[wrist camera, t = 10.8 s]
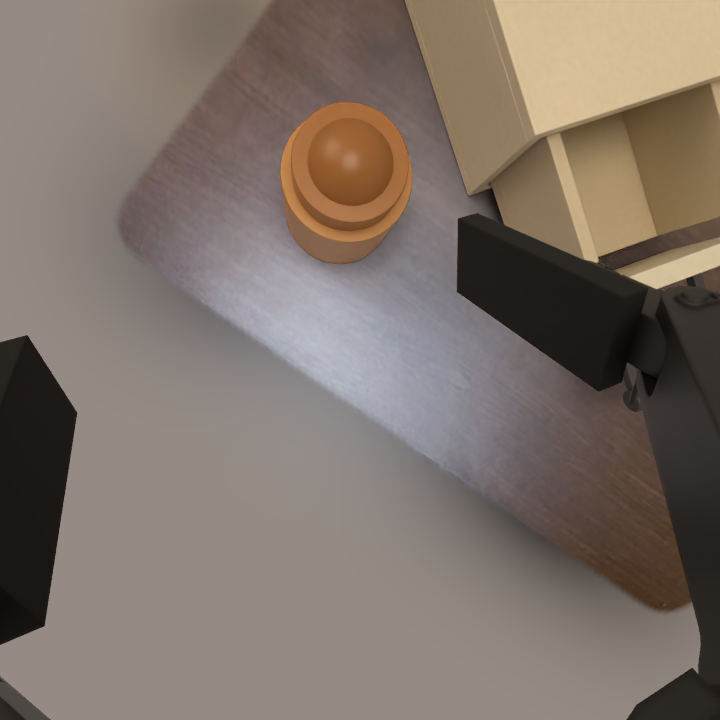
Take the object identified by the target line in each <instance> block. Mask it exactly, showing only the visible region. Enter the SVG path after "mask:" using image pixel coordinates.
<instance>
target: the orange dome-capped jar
mask: <svg viewBox="0 0 720 720" xmlns="http://www.w3.org/2000/svg"><path fill="white" fill-rule="evenodd" d="M280 172H281V184H282V192H283V199H284V206H285V213H286V219H287V223H288V227H289V229H290V232H291V234H292V236H293V237H294V239H295V240H296V242H297V243H298V244H299V246H300V247H301V248H302V249H303V250H304V251H306V252H307V253H308V254H310V255H311V256H313V257H315V258H317V259H319V260H321V261H325V262H328V263H335V264H344V263H350V262H354V261H357V260H360V259H362V258H364V257H365V256H367V255H369V254H370V253H371V252H372V251H373V250H374V249H375V248H376V247H377V246H378V245H379V244H380V242H381V241H382V240H383V238H384V237H385V236H386V234H387V233H388V232H389V231H390V229H391V228H392V227H393V225H394V224H395V223H396V221H397V220H398V219H399V217H400V216H401V215H402V213H403V211H404V209H405V208H406V205H407V203H408V200H409V197H410V193H411V187H412V169H411V163H410V160H409V156H408V152H407V148H406V145H405V143H404V140H403V138H402V136H401V134H400V132H399V131H398V129H397V128H396V127H395V125H394V124H393V123H392V122H391V121H390V120H389V119H388V118H387V117H386V116H385V115H383V114H382V113H380V112H379V111H377V110H376V109H374V108H371V107H369V106H366V105H363V104H359V103H354V102H341V103H335V104H331V105H328V106H326V107H323V108H321V109H319V110H318V111H316V112H315V113H313V114H312V115H311V116H310V117H309V118H308V119H307V120H306V121H305V122H303V123H302V124H301V125H300V126H299V127H298V128H297V129H296V130H295V132H294V133H293V134H292V136H291V137H290V139H289V141H288V142H287V144H286V147H285V149H284V152H283V156H282V160H281V169H280Z"/></svg>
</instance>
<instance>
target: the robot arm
mask: <svg viewBox="0 0 720 720" xmlns="http://www.w3.org/2000/svg"><path fill="white" fill-rule="evenodd" d="M457 292H458V293H459V294H461V295H462V296H464V297H465V298H467V299H468V300H469V301H471V302H472V303H474V304H475V305H476V306H478V307H479V308H481V309H482V310H484V311H485V312H486V313H488V314H489V315H491V316H492V317H493V318H495V319H496V320H498V321H499V322H501V323H502V324H503V325H505V326H506V327H508V328H509V329H511V330H512V331H513V332H515V333H516V334H518V335H519V336H520V337H522V338H523V339H525V340H526V341H528V342H529V343H530V344H532V345H533V346H535V347H536V348H538V349H539V350H540V351H542V352H543V353H545V354H546V355H547V356H549V357H550V358H552V359H553V360H555V361H556V362H557V363H559V364H560V365H562V366H563V367H564V368H566V369H567V370H569V371H570V372H572V373H573V374H574V375H576V376H577V377H579V378H580V379H582V380H583V381H584V382H586V383H587V384H589V385H590V386H591V387H593V388H594V389H596V390H597V391H602V390H604V389H606V388H609V387H611V386H613V385H616V384H618V383H621V382H622V379H623V375H624V372H625V368H626V365H627V362H628V363H629V364H631V365H632V366H634V367H636V368H637V369H638V372H637V375H636V378H635V382H634V385H633V388H632V391H631V395H630V398H629V405H633V404H634V401H635V399H636V398H637V397H639V398H640V402H641V404H640V406H642V410H643V413H644V417H645V421H646V425H647V429H648V433H649V437H650V440H651V444H652V448H653V452H654V456H655V460H656V464H657V468H658V471H659V475H660V479H661V483H662V487H663V491H664V495H665V499H666V502H667V506H668V510H669V514H670V518H671V522H672V526H673V530H674V533H675V537H676V541H677V545H678V549H679V553H680V557H681V560H682V564H683V568H684V572H685V576H686V580H687V584H688V588H689V591H690V595H691V599H692V603H693V607H694V611H695V614H696V618H697V622H698V626H699V631H700V639H701V648H700V656H699V664H698V671H699V675H698V674H697V673H696V671H695V670H694V669H693V668H691V669H690V670H688V671H687V672H685V673H684V674H682V675H681V676H679V677H678V678H676V679H675V680H673V681H672V682H670V683H669V684H667V685H666V686H664V687H663V688H661V689H660V690H658V691H657V692H655V693H654V694H652V695H651V696H649V697H648V698H646V699H645V700H643V701H642V702H640V703H639V704H637V705H636V707H635V708H634V710H633V711H632V713H631V714H630V715H629V717H628V719H627V720H720V294H718V293H716V292H713V291H711V290H707V289H703V288H699V287H691V286H678V287H672V288H669V289H666V290H665V291H664V292H662V291H660V290H657V289H655V288H653V287H650V286H648V285H646V284H644V283H641V282H639V281H637V280H634V279H632V278H630V277H627V276H625V275H620V273H618V272H616V271H613V270H611V269H609V270H608V269H607V268H606V267H604V266H602V265H600V264H597V263H595V262H593V261H588V260H584V259H581V258H579V257H576V256H574V255H572V254H570V253H567V252H565V251H563V250H560V249H558V248H556V247H553V246H551V245H549V244H547V243H544V242H542V241H540V240H537V239H535V238H533V237H531V236H528V235H526V234H524V233H521V232H519V231H517V230H515V229H512V228H510V227H508V226H505V225H503V224H501V223H499V222H496V221H494V220H492V219H489V218H487V217H485V216H482V215H480V214H478V213H477V214H473V215H469V216H466V217H462V218H458V259H457ZM76 417H77V412H76V410H75V409H74V407H73V405H72V404H71V402H70V401H69V399H68V398H67V396H66V395H65V393H64V391H63V390H62V389H61V387H60V385H59V384H58V382H57V381H56V379H55V378H54V376H53V374H52V373H51V371H50V370H49V368H48V367H47V365H46V364H45V362H44V361H43V359H42V357H41V356H40V354H39V353H38V351H37V349H36V348H35V347H34V345H33V343H32V342H31V340H30V339H29V337H28V336H27V335H26V336H23V337H18V338H15V339H11V340H7V341H4V342H0V645H1V644H3V643H6V642H8V641H10V640H13V639H15V638H17V637H20V636H22V635H24V634H27V633H29V632H31V631H34V630H36V629H39V628H41V627H43V626H45V619H46V613H47V606H48V599H49V593H50V587H51V580H52V574H53V566H54V560H55V554H56V547H57V540H58V534H59V528H60V521H61V514H62V508H63V501H64V495H65V489H66V482H67V476H68V469H69V463H70V455H71V450H72V443H73V437H74V430H75V424H76ZM0 720H50V719H49V718H48V717H47V716H46V715H44V714H43V713H42V712H41V711H40V710H39V709H37V708H36V707H35V706H34V705H33V704H32V703H30V702H29V701H28V700H27V699H26V698H25V697H23V696H22V695H21V694H20V693H19V692H18V691H17V690H15V689H14V688H13V687H12V686H11V685H9V684H8V683H7V682H6V681H5V680H4V679H3V678H1V677H0Z"/></svg>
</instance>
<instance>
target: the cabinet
mask: <svg viewBox="0 0 720 720" xmlns="http://www.w3.org/2000/svg"><path fill="white" fill-rule="evenodd" d="M405 3H406V6H407V9H408V13H409V16H410V19H411V22H412V25H413V28H414V31H415V34H416V37H417V40H418V43H419V46H420V49H421V53H422V56H423V59H424V62H425V65H426V68H427V71H428V74H429V77H430V80H431V83H432V86H433V89H434V92H435V96H436V99H437V102H438V105H439V108H440V111H441V114H442V117H443V120H444V123H445V126H446V129H447V132H448V135H449V139H450V142H451V145H452V148H453V151H454V154H455V157H456V160H457V163H458V166H459V169H460V172H461V175H462V178H463V182H464V185H465V188H466V191H467V194H468V196H470V195H473V194H476V193H479V192H482V191H485V190H488V189H491V188H492V185H491V181H492V180H493V179H494V178H495V177H496V176H497V175H499V174H500V173H501V172H502V171H503V170H504V169H505V168H507V167H508V166H509V165H510V164H511V163H512V162H514V161H515V160H516V159H517V158H518V157H519V156H520V155H522V154H523V153H524V152H525V151H526V150H527V149H528V148H530V147H531V146H532V145H533V144H534V143H535V142H537V141H538V140H539V139H540V138H542V137H545V136H548V135H551V134H554V133H557V132H560V131H563V130H566V129H569V128H573V127H576V126H579V125H582V124H585V123H588V122H591V121H594V120H597V119H600V118H604V117H607V116H610V115H613V114H616V113H619V112H622V111H625V110H628V109H631V108H635V107H638V106H641V105H644V104H647V103H650V102H653V101H656V100H659V99H662V98H665V97H669V96H672V95H675V94H678V93H681V92H684V91H687V90H690V89H693V88H696V87H700V86H703V85H706V84H709V83H712V82H715V81H718V80H720V0H405Z"/></svg>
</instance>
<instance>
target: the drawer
mask: <svg viewBox="0 0 720 720" xmlns="http://www.w3.org/2000/svg"><path fill="white" fill-rule="evenodd" d="M491 185H492V188H493V191H494V194H495V198H496V201H497V204H498V207H499V210H500V213H501V216H502V219H503V223H504V225H505V226H508V227H510V228H512V229H515V230H517V231H519V232H521V233H524V234H526V235H528V236H531V237H533V238H535V239H537V240H540V241H542V242H544V243H547V244H549V245H551V246H553V247H556V248H558V249H560V250H563V251H565V252H567V253H570V254H572V255H574V256H576V257H579V258H581V259H584V260H588V261H593V262H595V263H597V262H599V259H598V257H600V256H603V255H606V254H609V253H611V252H614V251H617V250H620V249H623V248H625V247H628V246H631V245H634V244H637V243H639V242H642V241H645V240H648V239H651V238H653V237H656V236H659V235H662V234H666V233H669V232H672V231H676V230H679V229H682V228H685V227H689V226H692V225H695V224H699V223H702V222H705V221H708V220H712V219H715V218H718V217H720V80H718V81H715V82H712V83H709V84H706V85H703V86H700V87H696V88H693V89H690V90H687V91H684V92H681V93H678V94H675V95H672V96H669V97H665V98H662V99H659V100H656V101H653V102H650V103H647V104H644V105H641V106H638V107H635V108H631V109H628V110H625V111H622V112H619V113H616V114H613V115H610V116H607V117H604V118H600V119H597V120H594V121H591V122H588V123H585V124H582V125H579V126H576V127H573V128H569V129H566V130H563V131H560V132H557V133H554V134H551V135H548V136H545V137H542V138H540V139H539V140H538V141H537V142H535V143H534V144H533V145H532V146H531V147H530V148H528V149H527V150H526V151H525V152H524V153H523V154H522V155H520V156H519V157H518V158H517V159H516V160H515V161H514V162H512V163H511V164H510V165H509V166H508V167H507V168H505V169H504V170H503V171H502V172H501V173H500V174H499V175H497V176H496V177H495V178H494V179H493V180H492V181H491ZM718 266H720V237H718V238H714V239H711V240H707V241H703V242H699V243H695V244H691V245H687V246H683V247H679V248H675V249H671V250H668V251H665V252H662V253H660V254H657V255H654V256H651V257H649V258H646V259H643V260H640V261H638V262H635V263H632V264H629V265H627V266H624V267H621V268H618V269H616V270H613V271H616V272H618V273H620V275H625V276H627V277H630V278H632V279H634V280H637V281H639V282H641V283H644V284H646V285H648V286H650V287H653V288H655V289H659V288H662V287H664V286H667V285H670V284H672V283H675V282H678V281H680V280H683V279H686V280H687V283H688V286H691V287H699V288H703V289H705V285H704V282H703V278H702V275H701V273H702V272H705V271H707V270H710V269H713V268H715V267H718ZM636 375H637V370H636V367H634V366H632V365H631V364H629V363H628V362H627V365H626V368H625V372H624V375H623V377H624V380H625V383H626V386H627V389H630V390H627V391H625V392H624V394H623V400H624V403H625V404H626V406H627V407H628V408H629V409H630V410H632V411H634V412H638V411H640V410H642V406H640V404H641V402H640V398H639V397H637V398H636V399H635V401H634V404H633V405H629V398H630V395H631V391H632V388H633V385H634V382H635V378H636Z"/></svg>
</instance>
